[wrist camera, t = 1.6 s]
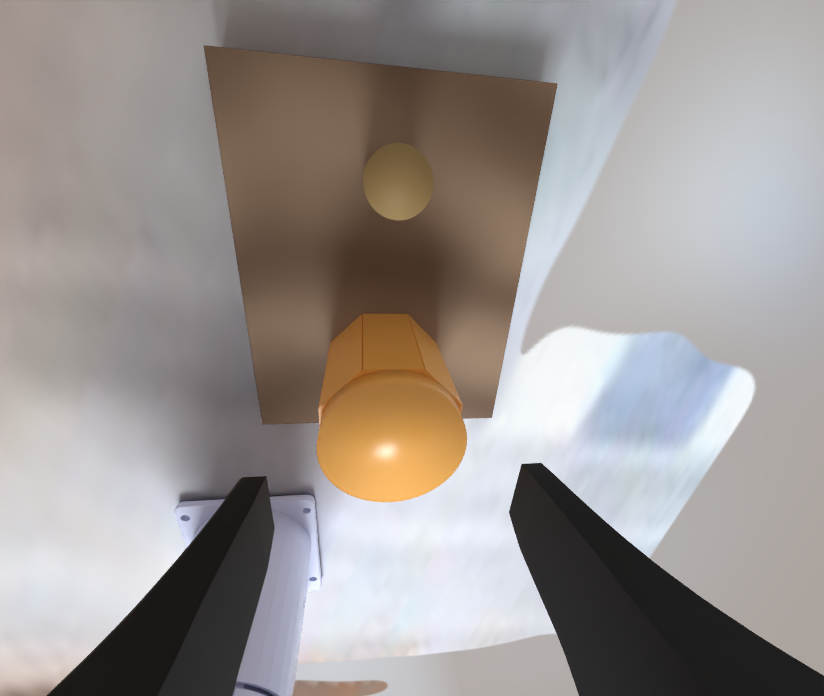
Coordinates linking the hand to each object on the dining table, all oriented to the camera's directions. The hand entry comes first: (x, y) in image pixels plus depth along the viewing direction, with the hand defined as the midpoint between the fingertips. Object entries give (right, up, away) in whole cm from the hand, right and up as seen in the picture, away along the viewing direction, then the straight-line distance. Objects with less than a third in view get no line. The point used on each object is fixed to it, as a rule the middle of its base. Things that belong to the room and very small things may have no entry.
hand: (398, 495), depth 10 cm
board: (-1, +8, +7) cm, 10 cm away
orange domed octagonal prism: (-1, +3, +7) cm, 8 cm away
